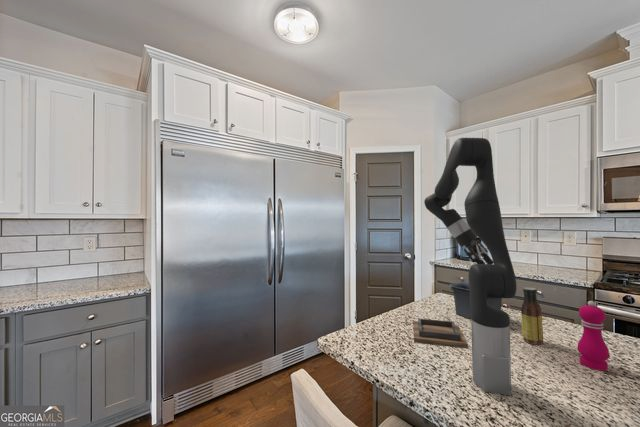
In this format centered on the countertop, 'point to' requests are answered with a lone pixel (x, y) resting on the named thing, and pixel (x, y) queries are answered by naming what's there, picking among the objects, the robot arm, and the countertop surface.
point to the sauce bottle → (531, 318)
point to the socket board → (438, 333)
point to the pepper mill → (592, 338)
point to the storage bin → (468, 299)
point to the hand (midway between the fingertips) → (488, 266)
